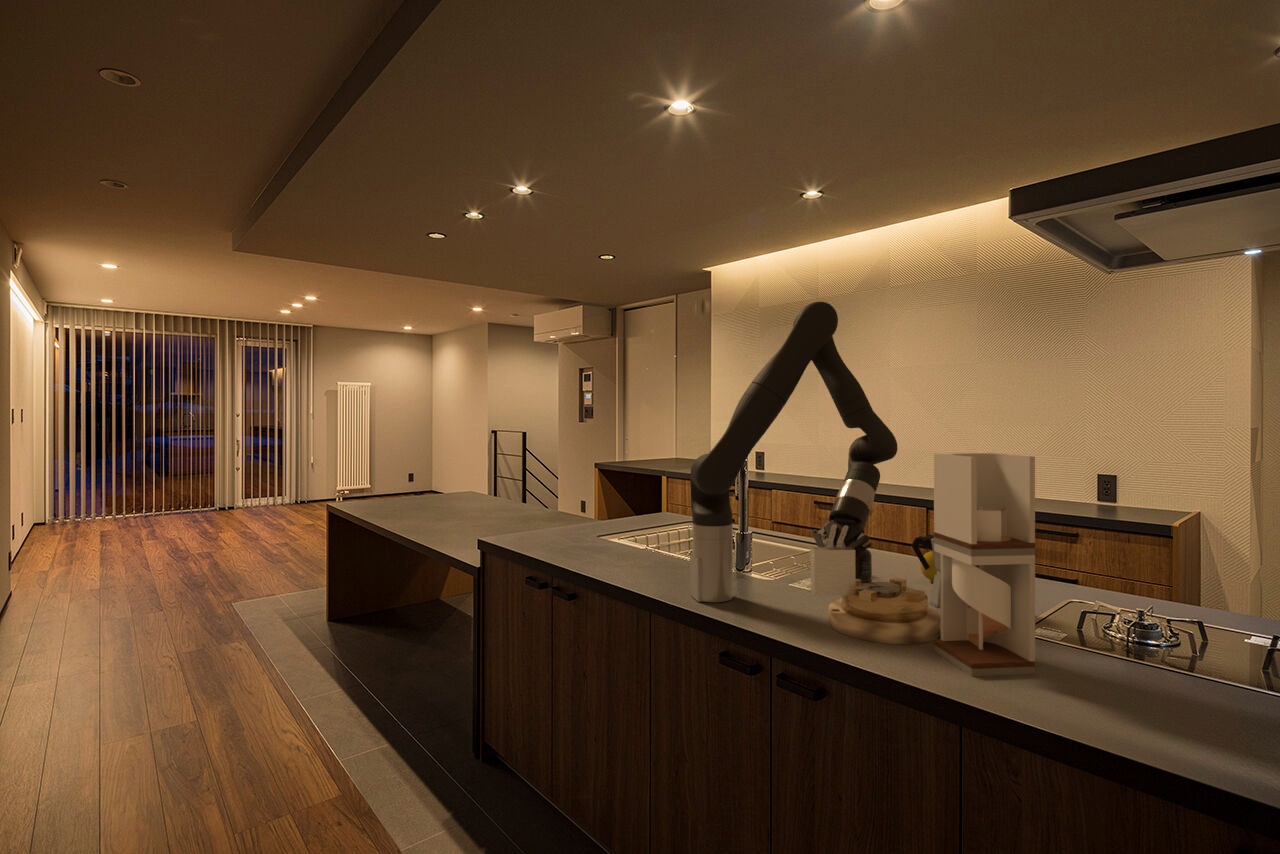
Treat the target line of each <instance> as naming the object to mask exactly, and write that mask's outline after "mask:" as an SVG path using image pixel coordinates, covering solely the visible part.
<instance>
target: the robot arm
mask: <svg viewBox="0 0 1280 854" xmlns="http://www.w3.org/2000/svg"><path fill="white" fill-rule="evenodd" d="M838 318H839V317H838V313H837V311H836V309H835V307H834V306H833V305H831V304H830V303H828V302H825V301H815V302H814V301H813V302H811V303H809V304H806V306H804V307H803V308H801V310H800V311H799V313H798V314H797V315H796V317H795V319H794V321H793V324H792V328H791V330H790V331H789V333H788V335H787V337H786V339H785V341H784V342H783V343H782V345H781V346H780V348H779V349H778V350H777V352H775V354H774V355H773V356H772V357H771V358H770V359H769V360H767V362H766V364H765V365H764V366H763V367H762V368H761V370H760V371H759V372H758V373H757V375H755V377H754V379H753V380H752V381H751V383H750V384H749V386H748V387H747V388H746V390H745V391H744V392H743V394H742V396H741V398H740V399H739V400H738V403H737V405H736V407H735V410H734V411H733V414H732V416H731V418H730V421H729V424H728V426H727V428H726V430H725V432H724V433H723V435H722V436H721V438H720V439H719V440H718V441H717V442H716V444H715V445H714V446H713V448H712V449H711V450H710V451H709V452H708V453H704V454H702V455H700V456H698V457H697V458H696V459H695V460H694V461H693V463H692V465H691V469H690V478H689V479H690V481H689V482H690V509H691V515H692V516H691V517H692V518H691V519H692V554H690V556H689V574H690V575H689V581H690V582H689V586H690V588H689V589H690V590H689V593H690V597H692V598H693V599H694V600H695V601H696V602H701V603H702V602H705V603H724V602H729V601H731V600H733V598H734V587H733V586H734V571H733V570H734V565H733V563H734V558H733V557H734V555H733V550H734V548H733V547H734V546H733V545H734V544H733V541H734V540H733V538H734V537H733V533H734V531H733V529H734V528H733V511H732V506H731V499H730V497H731V496H730V488H731V487H732V486H733V484H734V483H735V481H736V479H737V477H738V475H739V473H740V472H741V469H742V468H743V466H744V464H745V462H746V460H747V458H748V457H749V455H750V454H751V452H752V451H753V448H755V447H756V445H757V444H758V442H759V441H760V440H761V439H762V437H763V436H764V435H765V433H766V432H767V431H768V430H769V428H770V427H771V425H772V424H773V422H774V421H775V420H776V419H777V417H778V416H779V414H780V413H781V411H782V410H783V408H785V406H786V404H787V402H788V401H789V399H790V398H791V396H792V395H793V392H794V391H795V389H796V387H797V386H798V384H799V382H800V380H801V378H802V376H803V375H804V373H805V371H806V369H807V367H808V365H809V364H810V363H811V361H812V363H813V365H814V367H815V368H816V370H817V371H818V374H819V375H820V377H821V379H822V380H823V383H824V385H825V387H826V388H827V390H828V393H829V394H830V397H831V399H832V402H833V404H834V406H835V407H836V409H837V411H838V414H839V417H840V418H841V420H842V423H843V424H844V426H845V427H846V428H848V429H860V430H861V431H862V432H863V433H864V435H862V436H860V437H857V438H856V439H854V441H853V442H852V443H851V444H850V447H849V448H848V449H849V450H848V461H847V466H848V467H847V472H846V474H845V476H844V477H845V478H844V479H843V482H842V485H841V486H840V487H839V490H838V492H837V494H836V497H835V500H834V502H833V504H832V507H831V510H830V513H829V515H828V521H827V522H826V523H825V524H824V525H823V528H821V529H819V530H818V529H812V530H811V535H812V537H813V539H814V541H815V543H816V546H817V547H825V545H824V541H825V539H826V538H828V546H827V547H852V548H853V549H855V556H857V555H858V554H860V553H861V552H863V551H864V550H865V549H868V548H870V547H871V546H872V542H871V540H870V538H869V536H868V535H867V534H865V527H866V524H867V522H868V519H869V516H870V513H871V510H872V509H873V504H874V500H875V496H876V495H875V494H876V493H877V489H878V486H879V484H880V480H881V472H880V470H879V468H878V467H877V466H876V465H877V464H878V465H879V464H881V463H883V462H888V461H889V460H892V459H894V458H895V456H896V455H897V452H898V442H897V439H896V436H895V435H894V433H893V432H892V431H891V429H890V428H888V426H887V424H885V423H884V422H883V420H882V419H881V418H880V417H879V415H877V413H876V412H875V411H874V410H873V408H872V405H871V403H870V401H869V398H868V397H867V395H866V393H865V391H864V389H863V387H862V385H861V384H860V382H859V380H858V379H857V378H856V376H855V375H854V373H852V371H851V370H850V369H849V368H848V366H847V365H846V363H845V362H844V360H843V358H842V357H841V355H840V353H839V351H838V349H837V345H836V343H835V340H834V336H833V335H834V334H835V333H836V331H837V328H838V326H839V325H838V324H839V319H838ZM825 536H826V537H825Z"/></svg>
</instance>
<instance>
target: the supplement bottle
mask: <svg viewBox="0 0 1280 854" xmlns="http://www.w3.org/2000/svg"><path fill="white" fill-rule="evenodd" d="M872 557H873V556H872V552H871V551H870V550H869V549H868V548H867V549H865V550H864V551H863V552H861V553H860V554H858V555H857V556H855V579H860V580H861V584H863V583H870V582H873V569H872V567H873V563H872Z"/></svg>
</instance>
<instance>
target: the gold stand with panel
mask: <svg viewBox="0 0 1280 854" xmlns="http://www.w3.org/2000/svg"><path fill="white" fill-rule="evenodd" d="M810 592H811V593H812V595H814V596H815V597H817V596H818V597H823V596H825V597H826V596H827V597H828V596H829V597H831V596H834V597H835V596H837V597H838V596H840V599H841V607H842V609H843V610H844V611H846V612H847V613H849V614H852V615H855V616H858V617H861V618H866V619H871V620H878V621H887V622H908V621H916V620H920V619H923V618H925V617H926V616H927V614H928V607H929V605H928V596H927V594H926V591H925V590H919V589H915V588H912V587H909V586H907V578H906V579H905V578H900V577H899V578H898V577H893V578H890V579H889V581H872V582H870V583H863V584H861V580H860V579H855V549H853V548H852V547H818V546H810Z"/></svg>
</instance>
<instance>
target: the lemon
mask: <svg viewBox="0 0 1280 854" xmlns="http://www.w3.org/2000/svg"><path fill="white" fill-rule="evenodd" d="M923 556H924V558H925V559H926V561H927V563H928V564H929V566H930V568H928V569H927V570H925V569H924V567H923V565H922V564H921V563H920V571H921V574H922V575H923V576H924V578H926V579H928V580H929V581H930V582H931V583H933V582H934V576H935V574H936V573H937V570H936V569H935V566H934V559H933V552H932V551H931V550H929V551H928V552H925V553H924V554H923Z"/></svg>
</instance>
